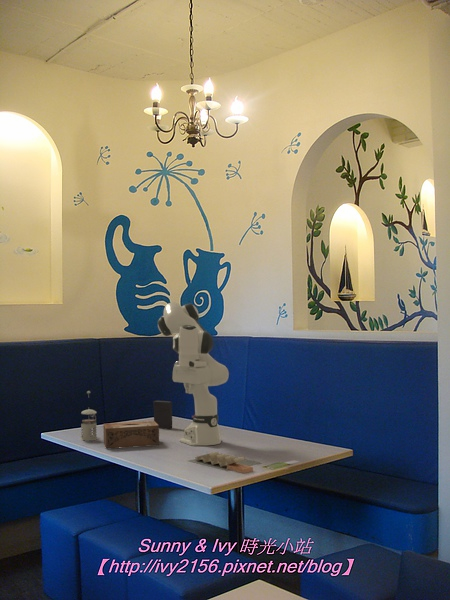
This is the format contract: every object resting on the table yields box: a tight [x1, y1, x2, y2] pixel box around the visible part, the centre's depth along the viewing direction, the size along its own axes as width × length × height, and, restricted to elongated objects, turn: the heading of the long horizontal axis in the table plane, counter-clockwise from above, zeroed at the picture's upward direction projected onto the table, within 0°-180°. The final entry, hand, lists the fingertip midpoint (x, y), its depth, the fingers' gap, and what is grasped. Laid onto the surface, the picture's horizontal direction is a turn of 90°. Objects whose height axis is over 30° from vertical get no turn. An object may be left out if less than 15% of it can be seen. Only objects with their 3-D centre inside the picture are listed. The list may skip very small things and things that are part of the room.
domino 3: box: [211, 454, 236, 465], centre depth 264 cm, size 2×5×10 cm
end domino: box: [227, 463, 254, 474], centre depth 256 cm, size 2×5×10 cm
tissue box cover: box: [102, 420, 160, 449], centre depth 316 cm, size 26×14×10 cm, turn 105°
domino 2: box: [203, 453, 228, 463], centre depth 268 cm, size 2×5×10 cm
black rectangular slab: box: [152, 400, 173, 430], centre depth 362 cm, size 11×4×15 cm, turn 58°
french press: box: [79, 390, 99, 442], centre depth 333 cm, size 10×12×25 cm
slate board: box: [188, 453, 262, 472], centre depth 271 cm, size 26×20×1 cm
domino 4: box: [219, 456, 245, 467], centre depth 259 cm, size 2×5×10 cm
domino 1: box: [194, 451, 220, 461], centre depth 271 cm, size 2×5×10 cm
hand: (189, 393), depth 281 cm, fingers closed
